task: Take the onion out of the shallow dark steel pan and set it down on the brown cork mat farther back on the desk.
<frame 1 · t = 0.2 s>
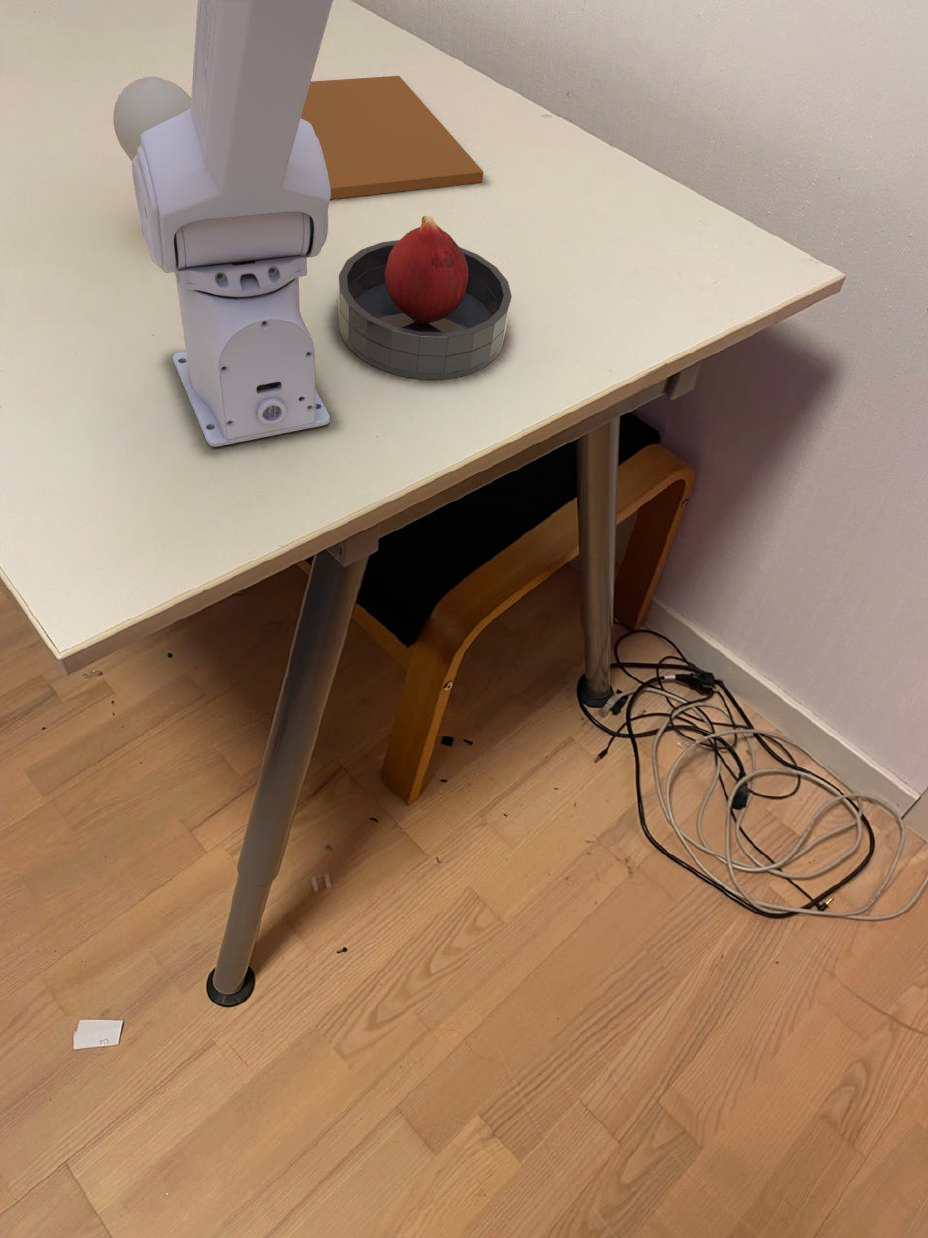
lightbulb: (173, 233, 72), on the table
onion: (422, 324, 67), resting on pan
mat: (359, 138, 85), on the table
pan: (422, 327, 68), on the table
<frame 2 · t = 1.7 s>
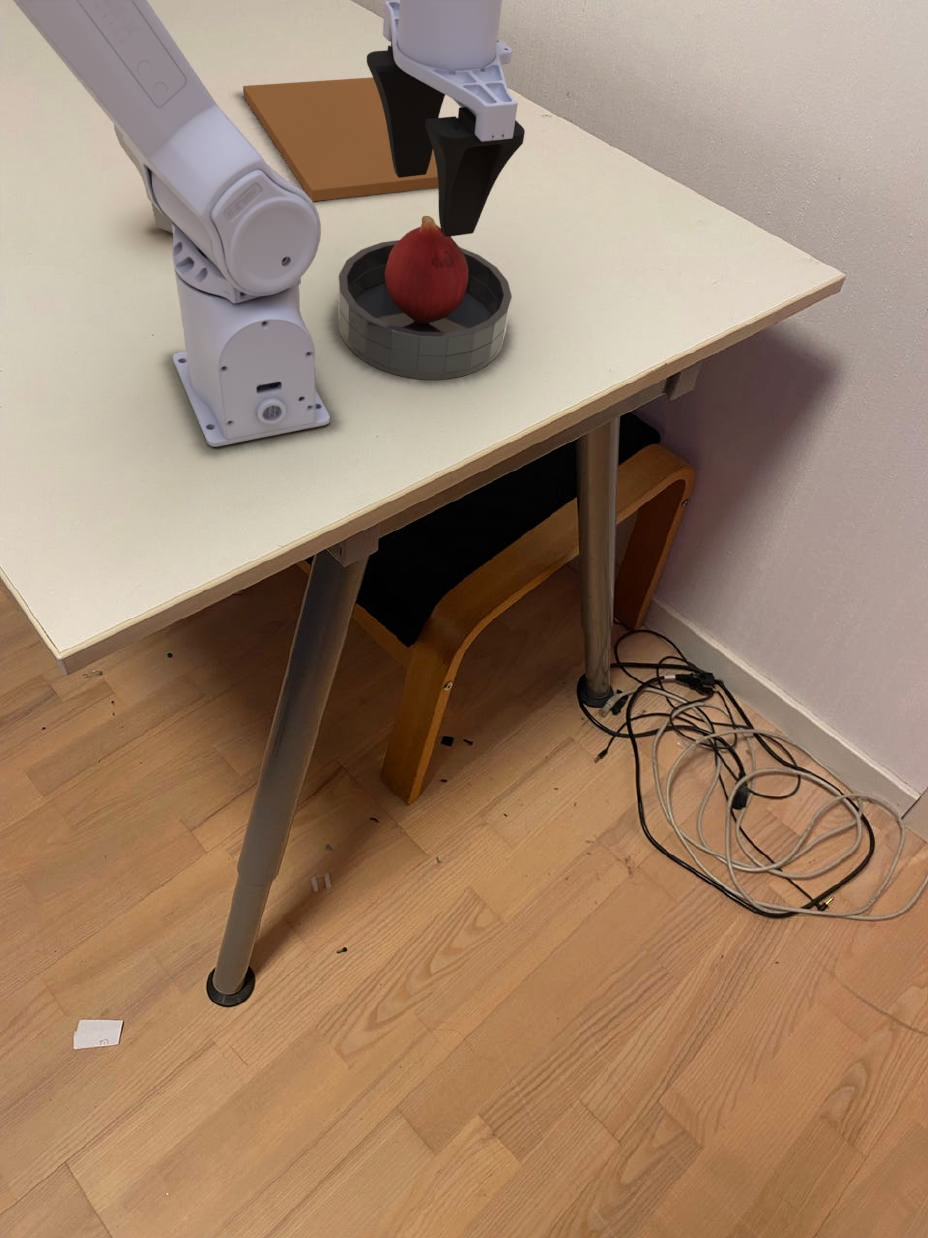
hand: (433, 202, 60), 9 cm above the table, tool pointing down, fingers open, 7 cm apart
nothing on the table moved.
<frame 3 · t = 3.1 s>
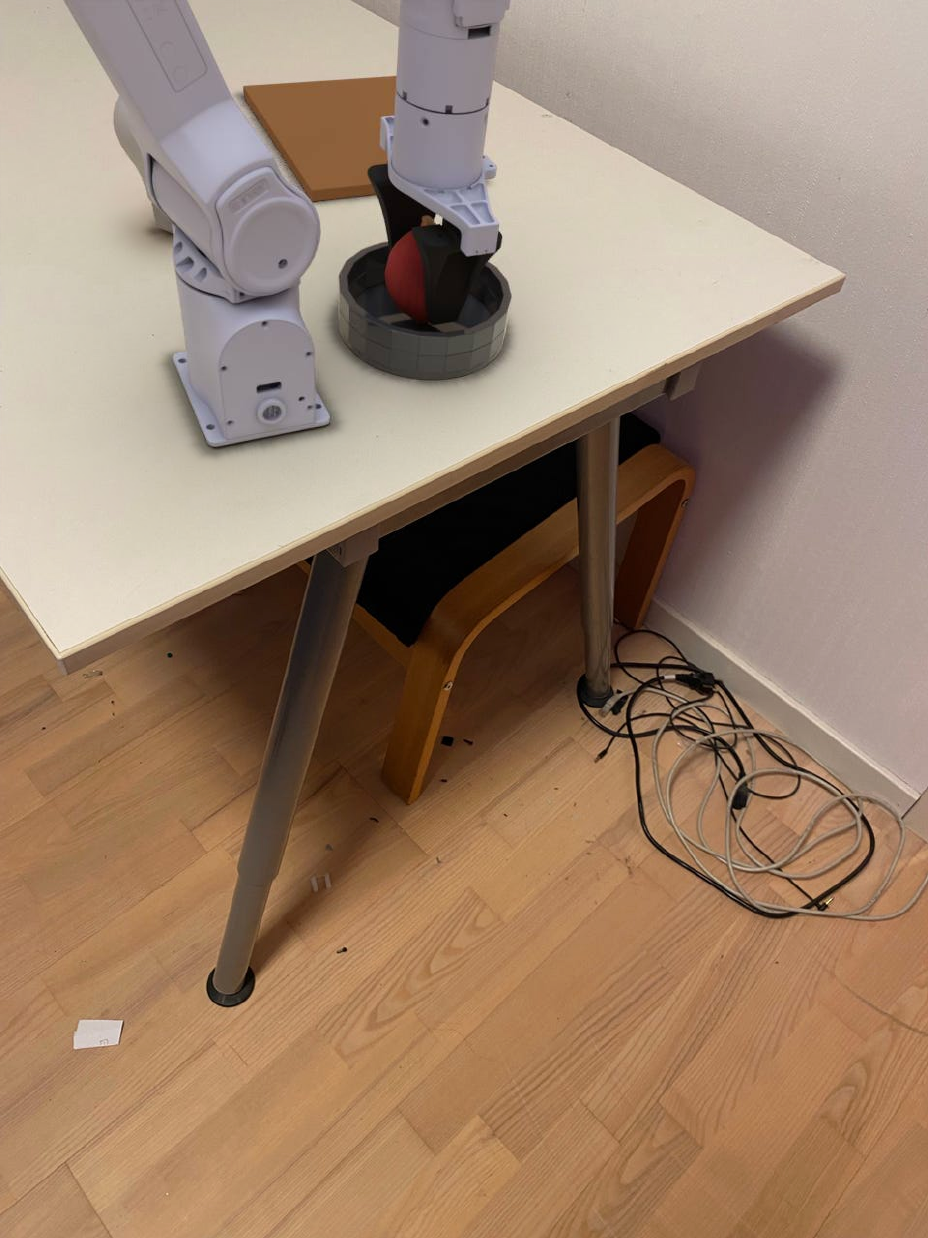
hand: (425, 295, 66), 3 cm above the table, tool pointing down, fingers closed on onion, 6 cm apart
onion: (422, 324, 67), resting on pan, touching gripper
everything else where it was.
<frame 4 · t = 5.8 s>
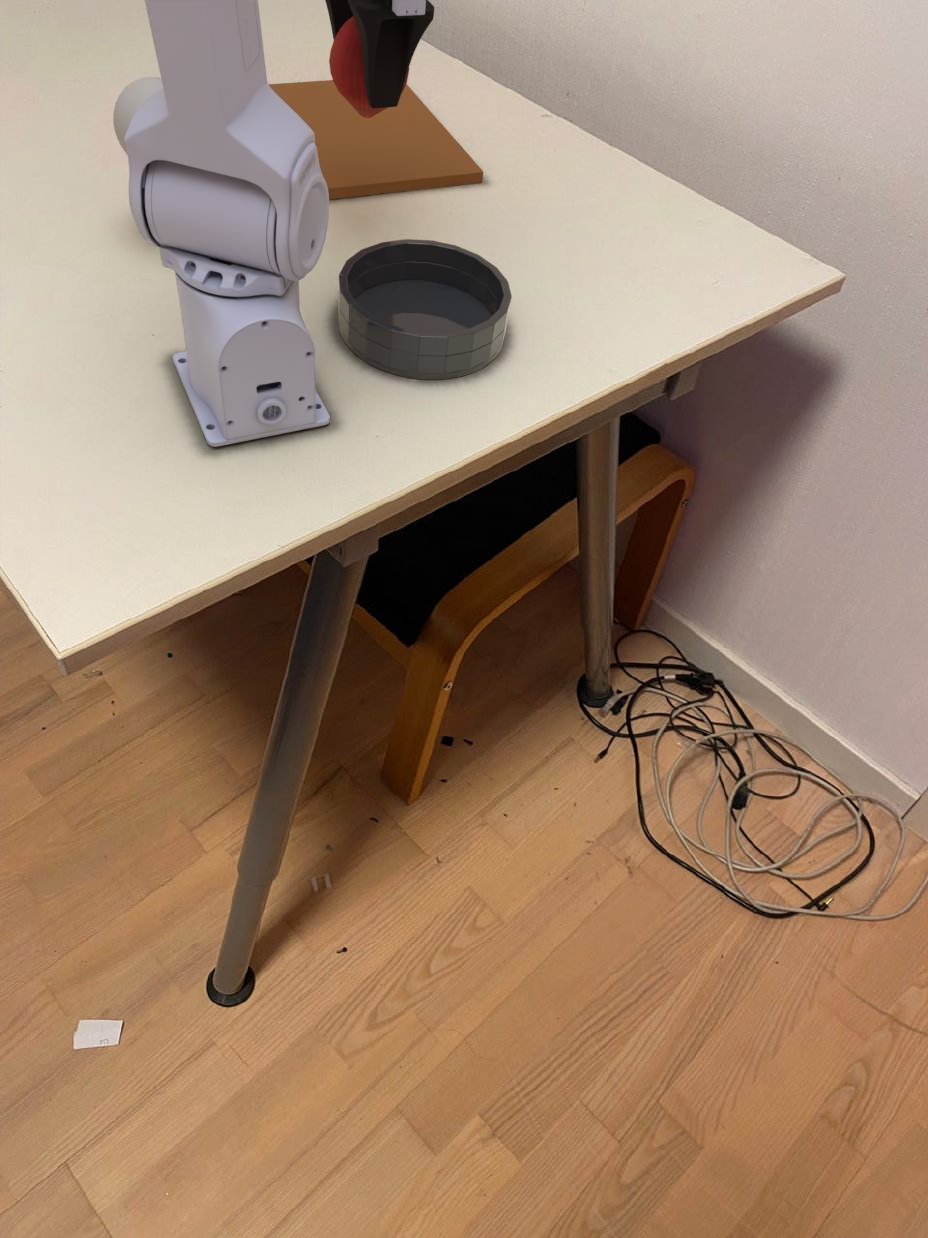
hand: (368, 86, 69), 10 cm above the table, tool pointing down, fingers closed on onion, 6 cm apart
onion: (367, 119, 71), point 8 cm above the table, touching gripper
everything else where it was.
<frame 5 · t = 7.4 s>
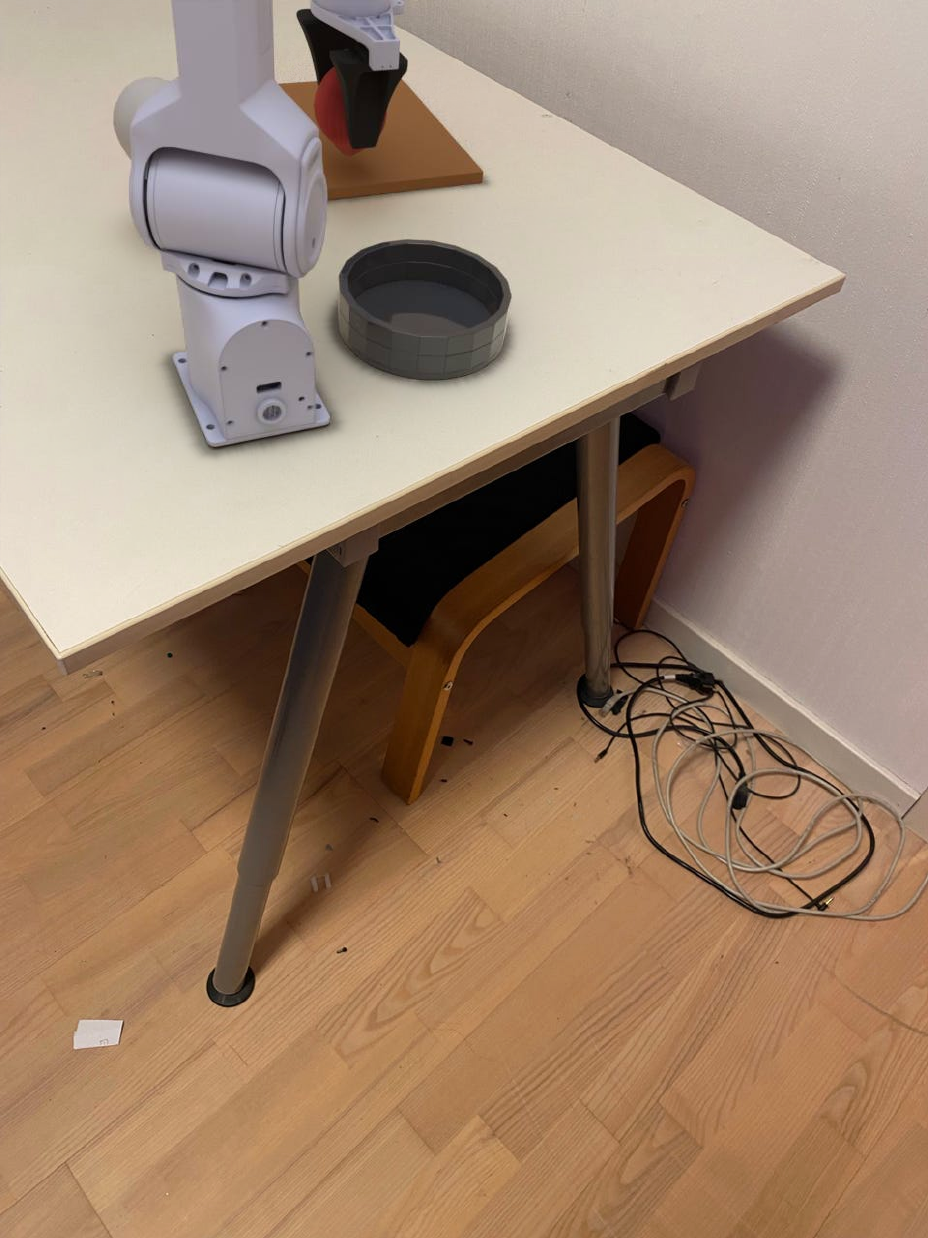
hand: (349, 128, 76), 5 cm above the table, tool pointing down, fingers closed on onion, 6 cm apart
onion: (349, 157, 78), point 2 cm above the table, touching gripper
everything else where it was.
when the fingers open (3 cm above the table, at t = 8.5 s): onion stays where it is, resting on mat.
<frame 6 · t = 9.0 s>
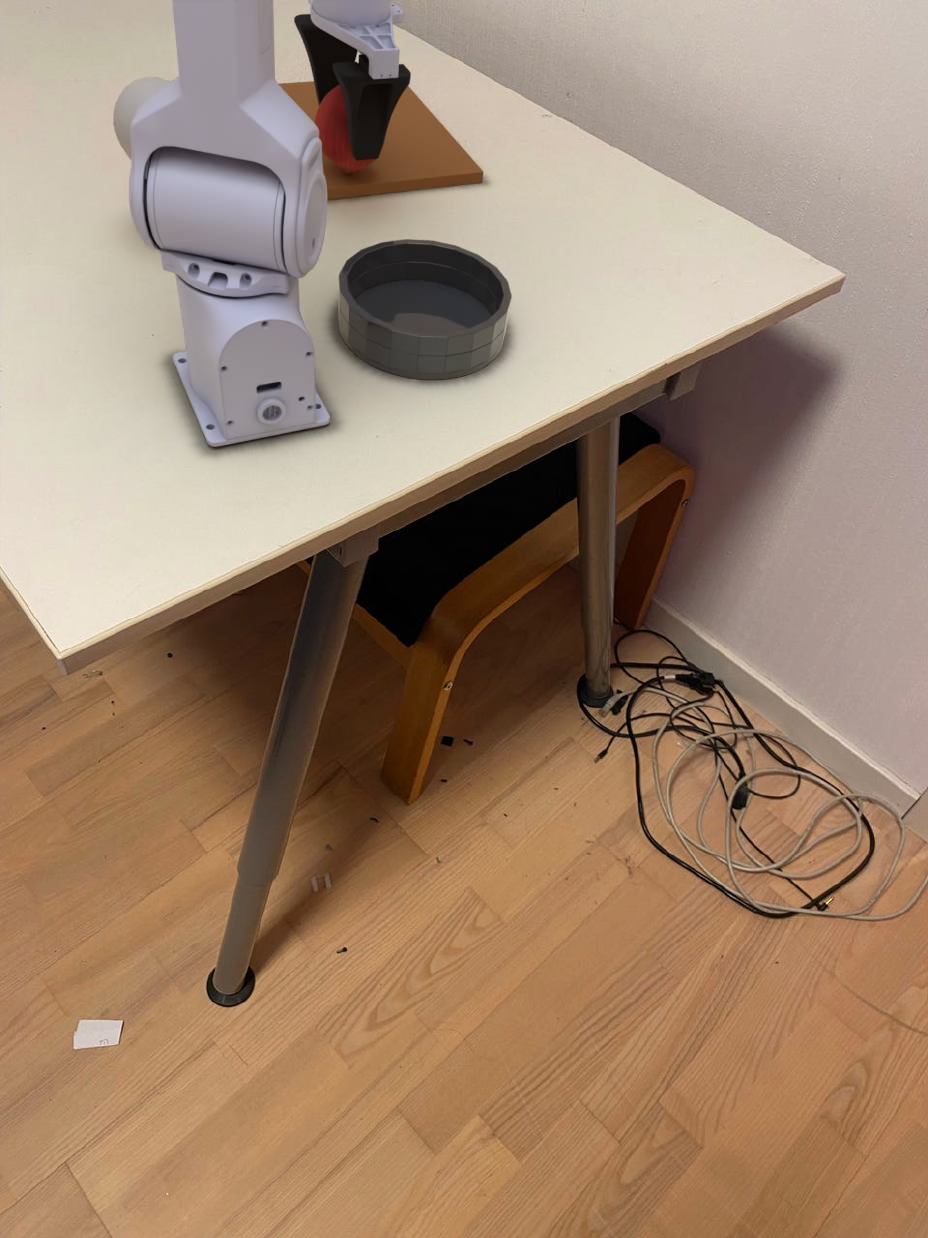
hand: (349, 135, 76), 4 cm above the table, tool pointing down, fingers open, 7 cm apart
onion: (349, 175, 79), point 1 cm above the table, touching mat
everything else where it was.
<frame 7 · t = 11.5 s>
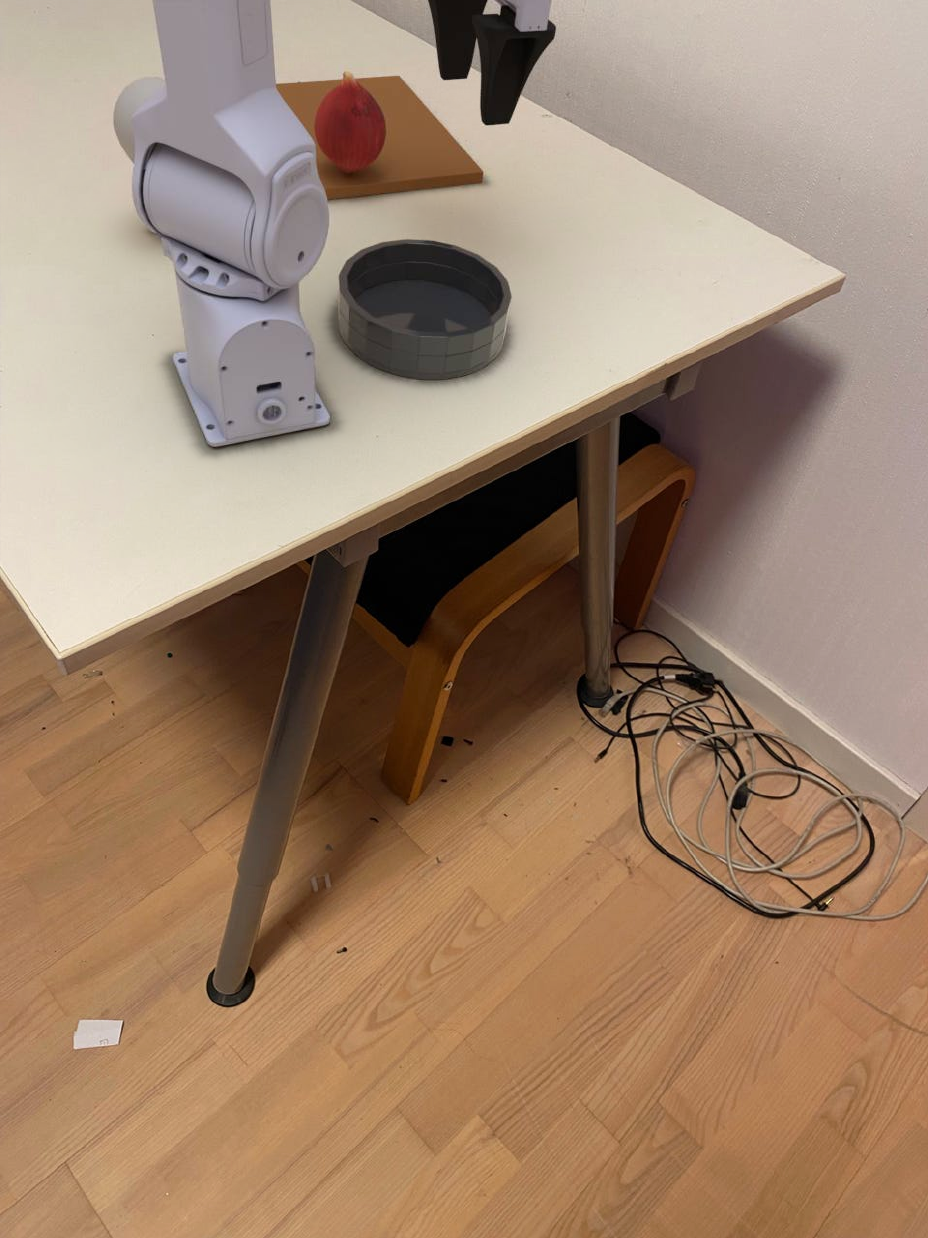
hand: (474, 99, 70), 10 cm above the table, tool pointing down, fingers open, 7 cm apart
nothing on the table moved.
at the end: onion inside the target area on the mat (8.9 cm from its centre), point 0.8 cm above the mat's base; onion touching mat; the gripper is holding nothing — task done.
